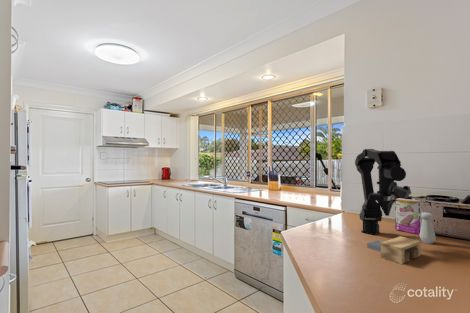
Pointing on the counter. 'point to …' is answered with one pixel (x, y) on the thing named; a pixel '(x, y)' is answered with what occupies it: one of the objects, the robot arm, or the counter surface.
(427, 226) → the salt shaker
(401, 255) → the oak block
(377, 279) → the counter surface
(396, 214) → the candy bar box
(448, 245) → the counter surface
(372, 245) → the slate tile
